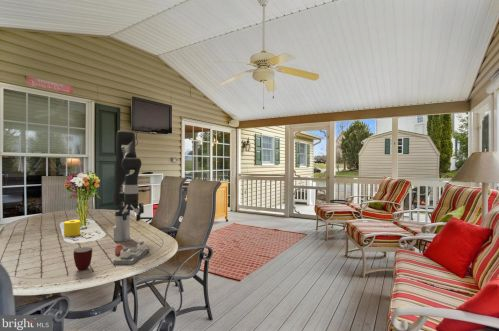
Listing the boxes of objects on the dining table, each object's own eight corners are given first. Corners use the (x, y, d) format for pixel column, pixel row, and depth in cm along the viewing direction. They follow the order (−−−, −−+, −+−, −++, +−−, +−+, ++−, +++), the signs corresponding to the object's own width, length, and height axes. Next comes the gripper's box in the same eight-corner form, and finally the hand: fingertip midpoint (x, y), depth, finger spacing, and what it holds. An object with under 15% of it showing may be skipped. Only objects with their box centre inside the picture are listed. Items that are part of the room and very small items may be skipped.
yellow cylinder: (83, 232, 207) (83, 220, 207) (73, 236, 197) (73, 223, 197) (70, 232, 208) (70, 219, 208) (60, 236, 198) (60, 222, 198)
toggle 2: (137, 250, 162) (137, 242, 162) (139, 248, 165) (139, 241, 165) (143, 250, 162) (143, 243, 162) (146, 248, 165) (146, 241, 165)
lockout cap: (113, 255, 160) (113, 245, 159) (117, 253, 164) (117, 243, 164) (121, 255, 159) (121, 246, 159) (124, 253, 164) (124, 243, 164)
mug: (68, 268, 140) (68, 249, 140) (85, 264, 146) (85, 245, 146) (77, 274, 134) (77, 253, 133) (95, 268, 140) (95, 249, 140)
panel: (113, 264, 146) (113, 258, 146) (132, 250, 169) (132, 245, 168) (131, 264, 146) (131, 259, 146) (148, 250, 168) (148, 246, 168)
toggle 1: (120, 257, 150) (120, 249, 150) (123, 255, 153) (123, 247, 153) (127, 257, 150) (127, 249, 150) (130, 255, 153) (130, 247, 153)
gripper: (116, 192, 156) (116, 221, 156) (138, 193, 153) (138, 222, 153) (124, 191, 163) (124, 218, 164) (146, 192, 161) (146, 219, 161)
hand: (131, 220), depth 159 cm, fingers open, 8 cm apart
